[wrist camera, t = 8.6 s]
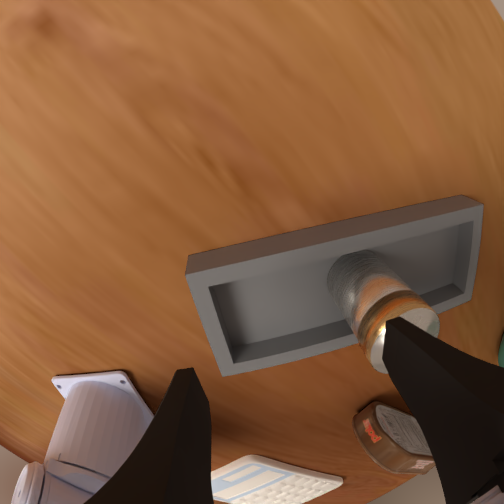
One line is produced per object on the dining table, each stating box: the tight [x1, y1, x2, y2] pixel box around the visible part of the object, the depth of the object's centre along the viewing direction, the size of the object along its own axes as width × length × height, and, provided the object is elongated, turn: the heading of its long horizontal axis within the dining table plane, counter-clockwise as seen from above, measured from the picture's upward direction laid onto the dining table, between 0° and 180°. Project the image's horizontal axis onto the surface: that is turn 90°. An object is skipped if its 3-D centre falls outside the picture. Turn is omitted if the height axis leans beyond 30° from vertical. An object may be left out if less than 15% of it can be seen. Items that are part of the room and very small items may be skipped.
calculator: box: [211, 455, 343, 504], centre depth 33 cm, size 13×20×2 cm, turn 45°
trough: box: [185, 195, 483, 377], centre depth 19 cm, size 8×20×2 cm, turn 101°
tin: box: [352, 401, 435, 475], centre depth 25 cm, size 15×3×8 cm, turn 51°
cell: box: [327, 249, 440, 374], centre depth 16 cm, size 4×4×8 cm
